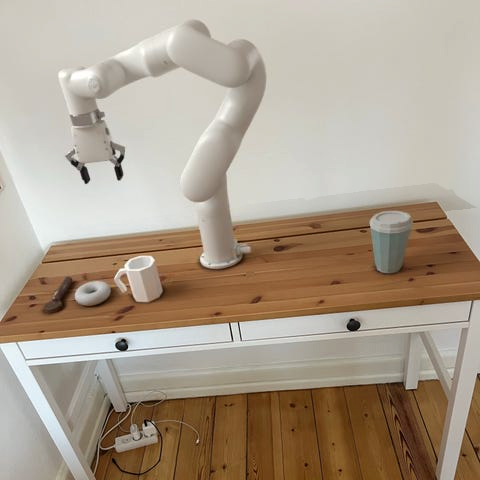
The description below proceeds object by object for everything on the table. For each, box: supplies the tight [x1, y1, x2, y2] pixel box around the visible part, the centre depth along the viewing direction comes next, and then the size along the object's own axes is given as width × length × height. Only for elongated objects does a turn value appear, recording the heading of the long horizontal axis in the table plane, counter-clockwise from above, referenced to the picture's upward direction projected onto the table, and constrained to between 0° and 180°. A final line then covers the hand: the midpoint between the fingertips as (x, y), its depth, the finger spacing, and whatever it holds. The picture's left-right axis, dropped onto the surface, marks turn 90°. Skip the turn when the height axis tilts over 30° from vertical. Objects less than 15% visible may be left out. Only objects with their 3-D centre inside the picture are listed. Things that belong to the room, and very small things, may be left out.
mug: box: [113, 255, 163, 303], centre depth 146 cm, size 12×9×10 cm
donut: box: [74, 280, 112, 307], centre depth 150 cm, size 10×3×10 cm
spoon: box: [43, 276, 74, 314], centre depth 153 cm, size 16×5×2 cm, turn 175°
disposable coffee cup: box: [369, 210, 414, 274], centre depth 139 cm, size 11×11×15 cm
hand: (104, 180), depth 151 cm, fingers open, 9 cm apart
